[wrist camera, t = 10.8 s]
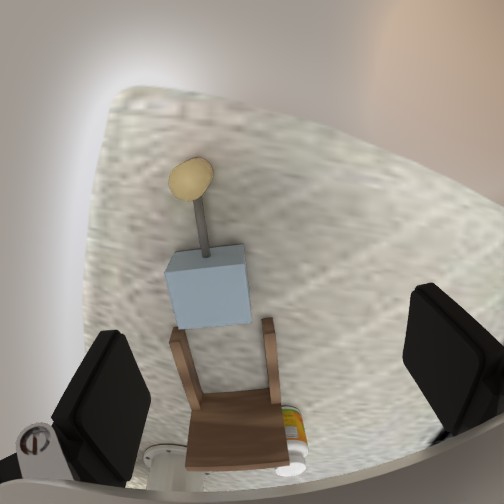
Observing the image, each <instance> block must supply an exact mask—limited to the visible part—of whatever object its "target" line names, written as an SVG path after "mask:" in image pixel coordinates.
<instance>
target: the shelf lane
mask: <svg viewBox="0 0 504 504" xmlns="http://www.w3.org/2000/svg"><path fill="white" fill-rule="evenodd" d="M262 325H263V334H264V343H265V352H266V361H267V370H268V379H269V388H268V389H259V390H249V391H237V392H225V393H209V394H202V390H201V387H200V384H199V380H198V377H197V374H196V370H195V367H194V363H193V360H192V356H191V353H190V349H189V345H188V342H187V338H186V334H185V330H184V329H178V327H174V328H173V331H172V334H171V338H170V341H169V344H170V348H171V351H172V354H173V357H174V360H175V363H176V366H177V369H178V372H179V375H180V378H181V381H182V384H183V387H184V390H185V393H186V396H187V398H188V401H189V404H190V407H191V409H192V412H191V420H190V427H189V435H188V443H187V451H186V460H185V468H186V470H187V471H192V472H210V471H238V470H253V469H265V468H274V467H283V466H290V459H289V453H288V446H287V440H286V433H285V426H284V420H283V413H282V407H281V397H280V384H279V372H278V359H277V347H276V335H275V329H274V323H273V318H267V319H262Z"/></svg>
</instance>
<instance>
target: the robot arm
mask: <svg viewBox="0 0 504 504" xmlns="http://www.w3.org/2000/svg"><path fill="white" fill-rule="evenodd" d="M503 354H504V346H503V345H502V344H501V343H499V342H498V341H497V340H496V339H495V338H494V337H493V336H492V335H491V334H490V333H489V332H488V331H487V330H486V329H485V328H484V327H483V326H482V325H481V324H479V323H478V322H477V321H476V320H475V319H474V318H473V317H472V316H471V315H470V314H469V313H467V312H466V311H465V310H464V309H463V308H462V307H461V306H460V305H458V304H457V303H456V302H455V301H454V300H453V299H452V298H450V297H449V296H448V295H447V294H446V293H445V292H443V291H442V290H441V289H440V288H439V287H438V286H436V285H435V284H434V283H427V284H422V285H418V286H416V288H415V291H413V292H412V293H411V297H410V307H409V315H408V323H407V330H406V337H405V343H404V349H403V362H404V365H405V366H406V368H407V369H408V371H409V372H410V374H411V376H412V377H413V379H414V380H415V382H416V383H417V385H418V386H419V388H420V390H421V391H422V393H423V394H424V396H425V398H426V399H427V401H428V402H429V404H430V406H431V407H432V409H433V410H434V412H435V414H436V415H437V417H438V419H439V420H440V422H441V424H442V425H443V427H444V429H445V430H446V431H447V432H451V433H452V435H453V437H452V438H450V439H448V440H446V441H443V442H441V443H439V444H436V445H434V446H431V447H429V448H426V449H424V450H421V451H419V452H416V453H413V454H411V455H408V456H405V457H402V458H399V459H396V460H393V461H390V462H387V463H384V464H380V465H377V466H374V467H370V468H367V469H363V470H359V471H356V472H352V473H348V474H344V475H339V476H335V477H330V478H326V479H321V480H316V481H310V482H305V483H299V484H293V485H286V486H278V487H270V488H261V489H251V490H237V491H217V492H203V488H204V479H205V478H207V477H209V476H210V475H211V474H212V473H213V471H210V472H192V471H187V470H186V468H185V460H186V451H187V447H183V446H177V445H157V446H153V447H150V448H149V449H147V450H146V451H145V453H144V457H143V460H144V463H145V464H146V466H147V467H148V468H149V469H150V472H149V477H148V482H147V487H146V490H143V489H132V488H125V486H126V482H127V481H130V480H131V478H132V474H133V470H134V465H135V461H136V457H137V453H138V449H139V445H140V441H141V437H142V433H143V429H144V426H145V422H146V418H147V414H148V410H149V407H150V403H151V396H150V392H149V390H148V388H147V386H146V384H145V381H144V379H143V377H142V375H141V372H140V370H139V368H138V366H137V363H136V361H135V359H134V356H133V354H132V351H131V349H130V346H129V344H128V341H127V339H126V337H125V335H124V334H121V333H120V332H119V331H118V330H106V331H101V332H100V333H99V334H98V336H97V338H96V339H95V341H94V342H93V344H92V346H91V347H90V349H89V351H88V352H87V354H86V356H85V357H84V359H83V361H82V363H81V365H80V366H79V367H78V369H77V371H76V373H75V375H74V376H73V378H72V380H71V382H70V383H69V385H68V387H67V389H66V390H65V392H64V394H63V396H62V397H61V399H60V401H59V403H58V405H57V407H56V409H55V410H54V412H53V414H52V416H51V418H52V420H53V421H54V422H53V424H52V426H50V425H48V424H46V423H35V424H31V425H29V426H28V427H26V428H25V429H24V430H23V431H22V432H21V433H20V434H19V436H18V438H17V441H16V451H17V452H16V453H14V454H12V455H10V456H8V457H6V458H4V459H2V460H0V504H504V355H503Z"/></svg>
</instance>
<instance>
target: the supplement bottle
mask: <svg viewBox="0 0 504 504" xmlns="http://www.w3.org/2000/svg"><path fill="white" fill-rule="evenodd" d="M282 413H283V420H284V426H285V433H286V440H287V446H288V453H289V459H290V466H283V467H275V472H276V474H278V475H280V476H294V475H298V474H300V473H302V472H303V471H304V470H305V469H306V462H305V457H306V456H307V454H308V444H307V439H306V435H305V430H304V425H303V420H302V416H301V413H300V411H299V410H297V409H296V408H293V407H288V406H284V407H282Z"/></svg>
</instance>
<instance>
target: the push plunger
mask: <svg viewBox="0 0 504 504" xmlns="http://www.w3.org/2000/svg"><path fill="white" fill-rule="evenodd" d="M212 178H213V169H212V166H211V165H210V163H209V162H208V161H206V160H204V159H202V158H193V159H191V160H188V161H186V162H184V163H182V164H180V165H178V166H176V167H175V168H174V169H173V170H172V172H171V174H170V177H169V187H170V190H171V192H172V193H173V194H174V195H175V196H176V197H177V198H179V199H181V200H184V201H192V200H193V203H194V210H195V216H196V223H197V229H198V235H199V241H200V247H201V249H198V250H189V251H181V252H175V253H174V255H173V257H172V259H171V261H170V262H169V264H168V266H167V268H166V270H165V272H164V273H165V277H166V282H167V286H168V290H169V294H170V298H171V302H172V306H173V310H174V314H175V318H176V322H177V325H178V329H192V328H204V327H216V326H226V325H236V324H246V323H252V317H251V304H250V293H249V285H248V277H247V269H246V261H245V253H244V245H243V244H240V245H232V246H223V247H215V248H209V242H208V236H207V229H206V223H205V216H204V210H203V203H202V196H201V195H202V194H203V193H204V192H205V190H206V188H207V187H208V185H209V184H210V182H211V180H212Z"/></svg>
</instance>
